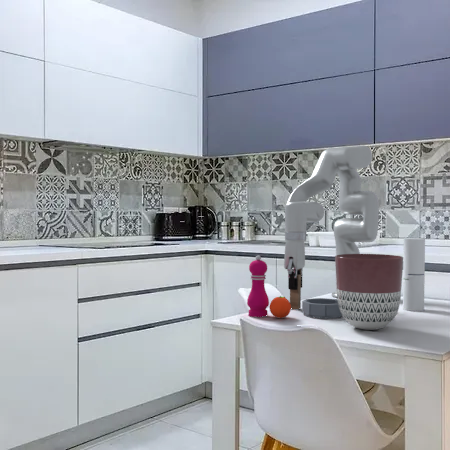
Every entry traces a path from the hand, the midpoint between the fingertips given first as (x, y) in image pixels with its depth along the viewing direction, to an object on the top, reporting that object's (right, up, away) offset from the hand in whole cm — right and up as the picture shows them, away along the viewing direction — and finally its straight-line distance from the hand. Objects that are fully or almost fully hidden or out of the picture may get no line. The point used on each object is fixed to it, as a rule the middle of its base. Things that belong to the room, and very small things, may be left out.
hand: (295, 288), depth 205 cm
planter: (+18, -9, -33) cm, 39 cm away
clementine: (-7, -8, -16) cm, 20 cm away
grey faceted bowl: (+8, -8, -11) cm, 16 cm away
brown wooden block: (0, -7, 0) cm, 7 cm away
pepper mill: (-14, -8, -13) cm, 21 cm away
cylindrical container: (+42, -8, 0) cm, 42 cm away
